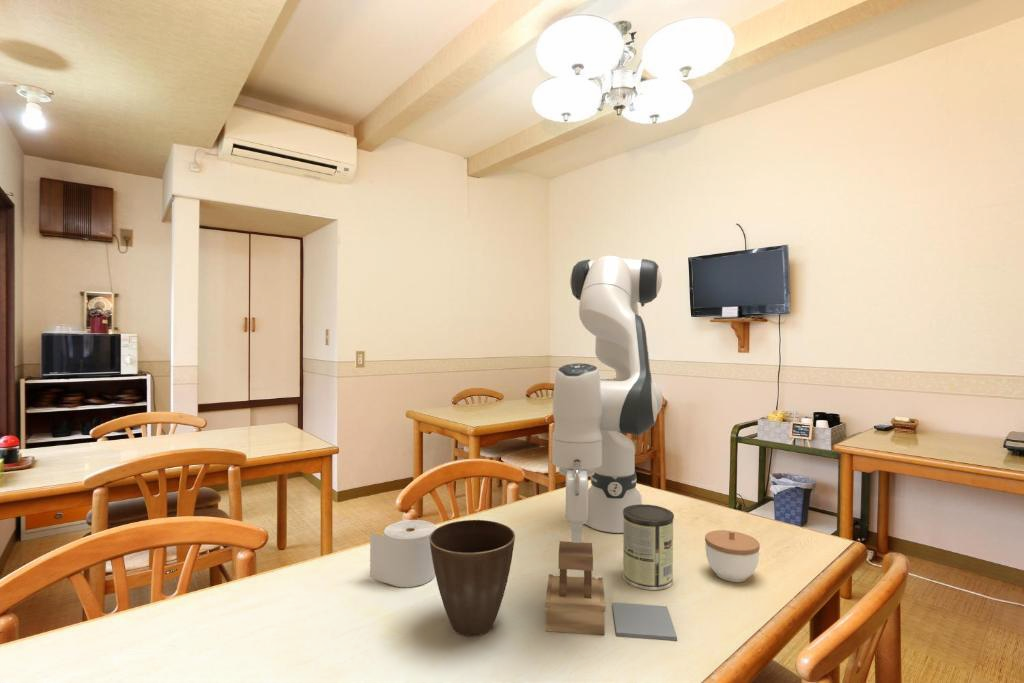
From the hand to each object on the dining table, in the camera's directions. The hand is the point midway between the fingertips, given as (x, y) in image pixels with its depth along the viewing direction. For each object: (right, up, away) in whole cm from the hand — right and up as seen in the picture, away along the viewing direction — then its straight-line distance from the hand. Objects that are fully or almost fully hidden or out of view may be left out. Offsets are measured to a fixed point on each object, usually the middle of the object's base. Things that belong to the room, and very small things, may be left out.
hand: (576, 531), depth 95 cm
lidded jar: (+35, -16, +17) cm, 42 cm away
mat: (+12, -16, -1) cm, 20 cm away
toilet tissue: (-34, -16, +16) cm, 40 cm away
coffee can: (+17, -16, +16) cm, 28 cm away
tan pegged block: (0, -11, 0) cm, 11 cm away
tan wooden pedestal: (0, -16, +1) cm, 16 cm away
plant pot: (-19, -16, -2) cm, 25 cm away
